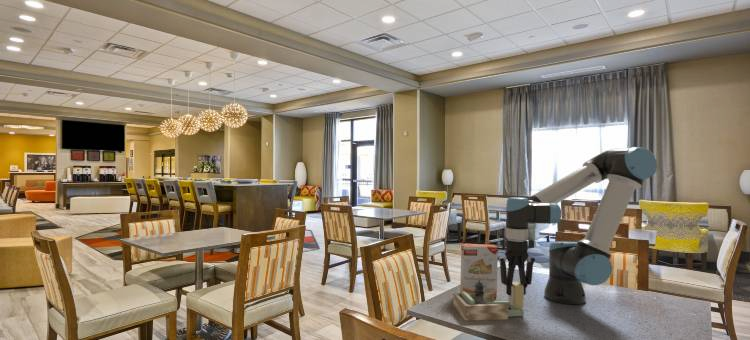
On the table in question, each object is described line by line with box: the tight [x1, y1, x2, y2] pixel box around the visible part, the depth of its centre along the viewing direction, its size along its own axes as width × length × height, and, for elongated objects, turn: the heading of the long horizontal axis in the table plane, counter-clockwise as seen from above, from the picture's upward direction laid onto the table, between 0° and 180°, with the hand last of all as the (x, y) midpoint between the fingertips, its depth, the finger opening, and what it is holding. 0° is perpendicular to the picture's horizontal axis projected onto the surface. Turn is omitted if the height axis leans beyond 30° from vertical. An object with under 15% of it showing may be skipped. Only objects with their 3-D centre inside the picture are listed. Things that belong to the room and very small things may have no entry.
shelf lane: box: [453, 293, 509, 321], centre depth 143 cm, size 15×13×5 cm
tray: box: [462, 281, 525, 317], centre depth 143 cm, size 20×10×10 cm, turn 96°
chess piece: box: [474, 280, 487, 305], centre depth 143 cm, size 6×6×12 cm
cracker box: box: [459, 243, 499, 299], centre depth 162 cm, size 14×6×21 cm, turn 88°
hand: (515, 303), depth 144 cm, fingers closed on tray, 3 cm apart
